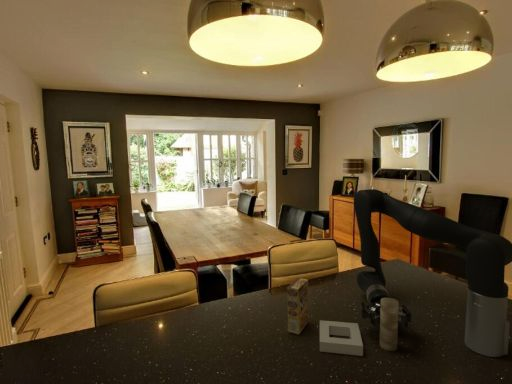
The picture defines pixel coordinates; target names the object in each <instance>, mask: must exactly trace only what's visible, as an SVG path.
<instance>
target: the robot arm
mask: <svg viewBox="0 0 512 384" xmlns="http://www.w3.org/2000/svg"><path fill="white" fill-rule="evenodd" d="M353 208H354V214H355V217H356V224H357V227H358V233H359V242H360V260H361V261H360V262H361V264H362V265H363V266H366V267H369V268H373V269H374V271H373V270H371V271H370V270H364V271H360V272H358V274H357V276H356V282H357V283H356V284H357V285H358V287H359V289H360V290H361V291H362V292H363V293H365V295H366V301H367V303H368V304H366V303H365V302H364V301H362V302H360V313H361V318H362V319H366V318H367V320H368V322H369V323H370V325H372V326H373V327H376V322H377V321H376V319H377V318H380V309H381V299H382V298H392V297H391V294H390V293H389V292H388V290H387V288H386V285H387V282H386V281H387V280H386V278H385V275H384V271H383V269H382V268H383V267H382V265H381V252H380V251H381V249H380V243H379V239H378V237H377V235H376V233H375V231H374V228H373V224H372V214H373V213H379V214H382V215H385V216H388V217H390V218H392V219H394V220H395V221H396V222H397V223H398V224H399V225H400V226H401V228H403V230H405V231H408V232H409V233H411V234H414V235H416V236H418V237H420V238H423V239H425V240H429V241H434V242H437V243H443V244H446V245H447V244H448V245H452V246H455V247H458V248H460V249H463V250H465V279H466V281H467V294H466V295H467V296H466V311H465V331H464V345H465V346H466V347H467V348H468V349H470V350H471V351H473V352H474V353H477V354H480V355H482V356H484V357H485V356H486V357H490V358H500V357H502V356H508V353H509V342H510V341H509V340H510V328H511V327H510V326H511V324H510V322H509V321H508V320H507V314H508V303H509V302H508V301H509V286H508V284H507V283H506V281H505V269H506V266H507V265H509V264H511V263H512V242H511V241H510V240H509V239H508V238H507V237H505V236H502V235H499V234H496V233H493V232H490V231H489V232H488V231H486V230H481V229H479V228H475V227H471V226H468V225H465V224H463V223H461V222H458V221H457V220H453V219H451V218H449V217H446V216H443V215H442V214H441V215H440V214H438V213H436V212H435V211H431V210H429V209H426V208H423V207H421V206H418V205H415V204H412V203H409V202H406V201H402V200H400V199H398V198H396V197H393V196H391V195H389V194H387V193H385V192H384V191H381V190H379V189H375V188H371V189H362V190H361V189H360V190H358V191H357V192H356V193H355V194H354V197H353ZM398 322H400V324H401V326H402V327H403V329H405V330H406V329H408V328H409V323H412V313H411V311H410V310H409V309H408V307H407V306H406V305H405V304H404V305H403V304H402V305H401V307H398Z"/></svg>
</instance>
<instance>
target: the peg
mask: <svg viewBox="0 0 512 384" xmlns="http://www.w3.org/2000/svg"><path fill="white" fill-rule="evenodd" d="M399 303H400V302H399V300H398V299H395V298H392V297H391V298H382V299H381V309H380V317H379V347H380V348H381V349H382V350H384V351H386V352H395V351H397V350H398V334H399V333H398V331H399V329H398V327H399V321H398V308H399V305H400V304H399Z"/></svg>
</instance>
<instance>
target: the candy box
mask: <svg viewBox="0 0 512 384" xmlns="http://www.w3.org/2000/svg"><path fill="white" fill-rule="evenodd" d="M286 289H287V290H286V291H287V293H286V297H287V298H286V299H287V300H286V301H287V332H288V333H292V334H294V335H295V334H296V335H300V334H301V333H302V331H303V330H304V329H305V327H306V325H308V323H309V279H305V278H301V277H297V278H296V279H295V280H294V281H292V282H291V283H290V284H289V285H288V286H287V288H286Z"/></svg>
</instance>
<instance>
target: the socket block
mask: <svg viewBox="0 0 512 384" xmlns="http://www.w3.org/2000/svg"><path fill="white" fill-rule="evenodd" d="M331 335H332V336H333V337H330V336H331ZM334 336H342V337H348V338H342V337H334ZM362 340H363V339H362V336H361V331H360V326H359V323H357V322H356V323H355V322H343V321H331V320H321V319H320V320H319V352H321V353H322V352H323V353H329V354H330V353H331V354H342V355H350V356H360V357H363V356H364V343H363V341H362Z"/></svg>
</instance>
